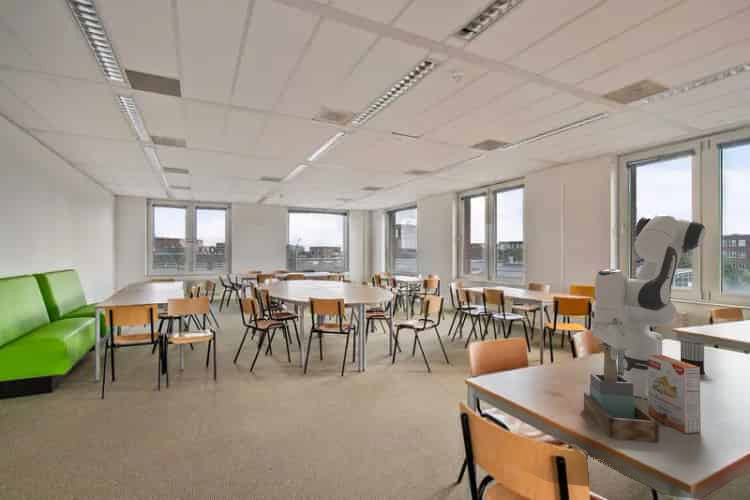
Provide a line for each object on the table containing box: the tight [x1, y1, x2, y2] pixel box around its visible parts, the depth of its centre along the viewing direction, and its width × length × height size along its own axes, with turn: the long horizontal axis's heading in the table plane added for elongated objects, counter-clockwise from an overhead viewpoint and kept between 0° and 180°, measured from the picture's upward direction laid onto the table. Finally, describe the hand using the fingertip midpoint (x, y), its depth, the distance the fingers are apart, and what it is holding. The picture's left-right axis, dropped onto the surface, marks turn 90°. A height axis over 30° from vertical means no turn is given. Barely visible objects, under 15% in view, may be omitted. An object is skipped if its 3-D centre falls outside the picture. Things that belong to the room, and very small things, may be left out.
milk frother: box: [679, 337, 706, 375], centre depth 179 cm, size 14×16×15 cm
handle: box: [598, 343, 620, 382], centre depth 127 cm, size 5×6×15 cm
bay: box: [583, 391, 660, 444], centre depth 122 cm, size 13×22×6 cm, turn 169°
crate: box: [589, 373, 636, 419], centre depth 126 cm, size 10×10×12 cm
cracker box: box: [647, 354, 702, 435], centre depth 122 cm, size 14×6×21 cm, turn 5°
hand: (610, 357), depth 127 cm, fingers closed on handle, 4 cm apart
